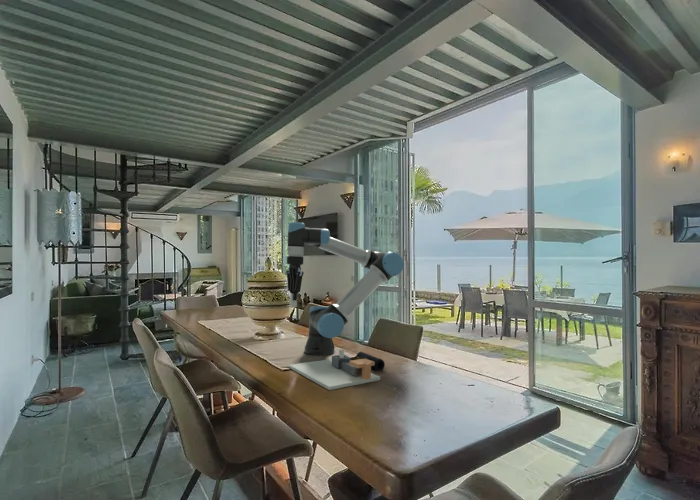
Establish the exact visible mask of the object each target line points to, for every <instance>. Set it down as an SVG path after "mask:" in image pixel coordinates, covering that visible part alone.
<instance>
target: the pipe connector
mask: <svg viewBox="0 0 700 500" xmlns="http://www.w3.org/2000/svg"><path fill="white" fill-rule="evenodd" d="M350 358H351V361H352V360H358V359H365V358H366V359H368V360H371V361H374V362H375V365H374V366H371V370H375V371H378V372H379V371H383V370H384V369H385V360H383V359H381V358H378V357H375V356H373V355H371V354H369V353H366V352H363V351H359V352H357V353H356V356H352V357H350Z"/></svg>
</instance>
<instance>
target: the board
mask: <svg viewBox="0 0 700 500" xmlns="http://www.w3.org/2000/svg"><path fill="white" fill-rule="evenodd" d="M289 367H290V368H291V369H290V368H289ZM288 368H289V369H290V370H293V371H294V372H296V373H297V374H300V375H302V376H303V377H304V378H307V379H309V380H310V381H312V382H314V383H316V384H317V385H319V386H321V387H322V388H325V389H326V390H328V391H331V390H332V391H333V390H336V389H337V390H338V389H342V388H347V387H352V386H357V385H362V384H367V383H372V382H377V381H381V376H379V375H378V374H374V373H373V372H371V379H364V378H362V375H361V376H353V375H351V374H349V373H347V372H346V371H344V370H342V369H338V368H336V367H334V366H332V358H328V359H323V360H321V359H320V360H315V361H314V360H313V361H309V362H300V363H294V364H289V365H288Z"/></svg>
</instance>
